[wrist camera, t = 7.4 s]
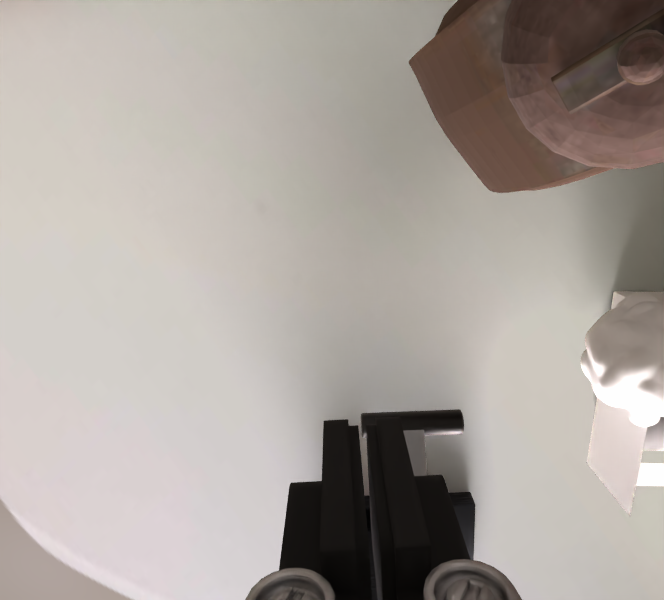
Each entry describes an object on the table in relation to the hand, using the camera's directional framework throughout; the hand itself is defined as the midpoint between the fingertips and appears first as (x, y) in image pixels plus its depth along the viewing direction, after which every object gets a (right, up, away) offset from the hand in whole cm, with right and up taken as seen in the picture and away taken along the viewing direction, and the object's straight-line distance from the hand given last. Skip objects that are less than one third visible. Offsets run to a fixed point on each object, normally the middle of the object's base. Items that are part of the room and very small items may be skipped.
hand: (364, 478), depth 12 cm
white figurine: (+18, 0, +18) cm, 26 cm away
